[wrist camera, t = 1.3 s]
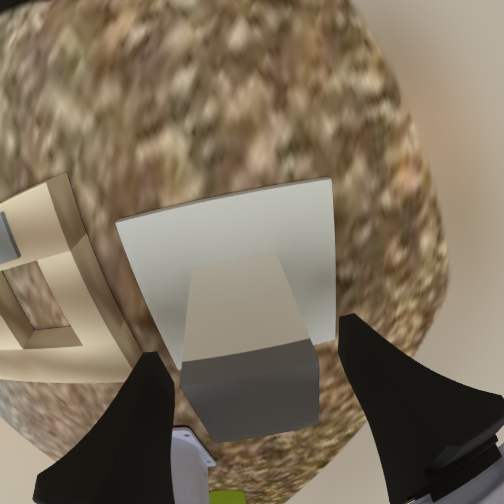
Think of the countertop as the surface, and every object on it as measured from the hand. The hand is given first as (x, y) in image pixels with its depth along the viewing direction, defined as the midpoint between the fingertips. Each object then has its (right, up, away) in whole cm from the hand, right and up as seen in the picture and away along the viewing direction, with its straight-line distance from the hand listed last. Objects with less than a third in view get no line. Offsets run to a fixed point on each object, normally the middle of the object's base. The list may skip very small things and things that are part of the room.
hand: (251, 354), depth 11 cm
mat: (-1, +2, +4) cm, 5 cm away
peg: (-1, +2, +4) cm, 4 cm away
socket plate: (-18, +1, +3) cm, 18 cm away
